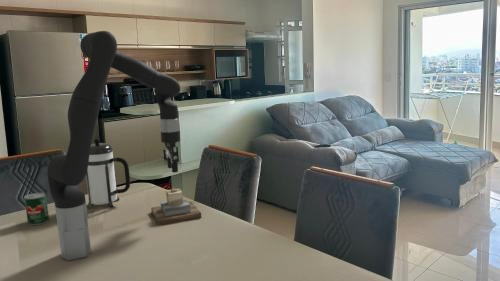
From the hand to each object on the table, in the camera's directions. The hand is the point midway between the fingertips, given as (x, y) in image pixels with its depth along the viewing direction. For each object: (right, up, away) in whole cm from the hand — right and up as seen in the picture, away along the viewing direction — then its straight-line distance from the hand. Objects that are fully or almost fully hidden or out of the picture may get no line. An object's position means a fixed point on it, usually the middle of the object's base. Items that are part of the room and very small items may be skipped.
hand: (172, 170), depth 172 cm
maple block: (0, -14, +3) cm, 14 cm away
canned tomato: (-55, -21, +2) cm, 59 cm away
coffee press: (-33, -17, +21) cm, 43 cm away
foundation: (+1, -19, +3) cm, 19 cm away
